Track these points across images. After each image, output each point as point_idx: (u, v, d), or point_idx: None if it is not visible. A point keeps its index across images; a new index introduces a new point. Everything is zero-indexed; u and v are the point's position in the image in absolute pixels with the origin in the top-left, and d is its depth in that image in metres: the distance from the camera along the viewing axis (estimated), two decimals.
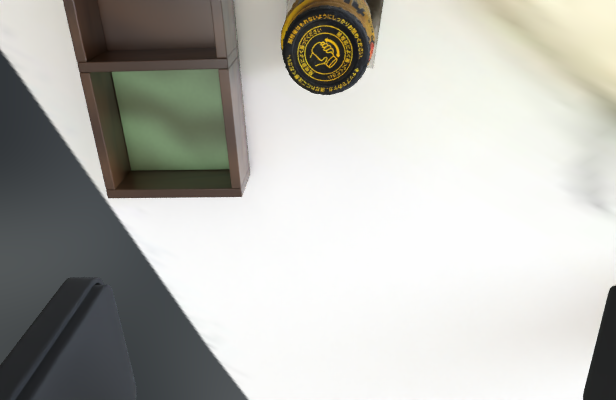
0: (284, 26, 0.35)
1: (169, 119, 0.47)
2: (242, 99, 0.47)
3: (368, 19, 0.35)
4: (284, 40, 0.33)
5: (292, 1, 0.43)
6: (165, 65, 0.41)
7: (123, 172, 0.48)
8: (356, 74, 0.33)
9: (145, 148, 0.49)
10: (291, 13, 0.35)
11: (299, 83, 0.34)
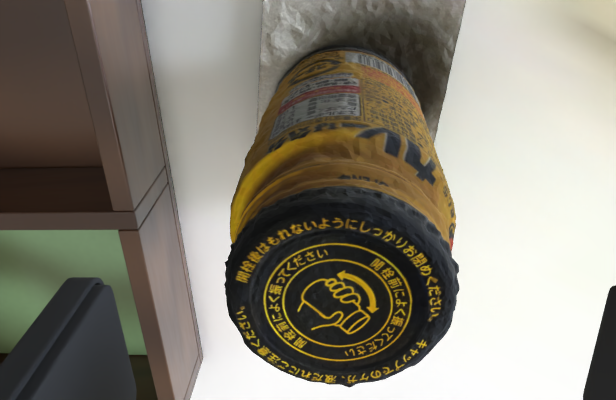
0: (236, 199, 0.14)
1: (54, 281, 0.27)
2: (182, 249, 0.26)
3: (444, 188, 0.14)
4: (227, 270, 0.12)
5: (268, 85, 0.22)
6: (12, 222, 0.21)
7: None
8: (419, 352, 0.13)
9: (19, 322, 0.28)
10: (252, 172, 0.14)
11: (270, 363, 0.13)
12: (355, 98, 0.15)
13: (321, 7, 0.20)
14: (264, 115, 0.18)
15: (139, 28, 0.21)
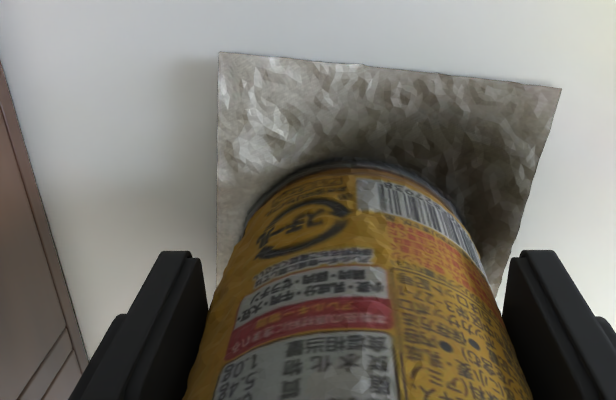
0: None
1: None
2: None
3: None
4: None
5: (232, 216, 0.14)
6: None
7: None
8: None
9: None
10: None
11: None
12: (386, 355, 0.07)
13: (314, 101, 0.12)
14: (209, 320, 0.10)
15: (3, 132, 0.13)
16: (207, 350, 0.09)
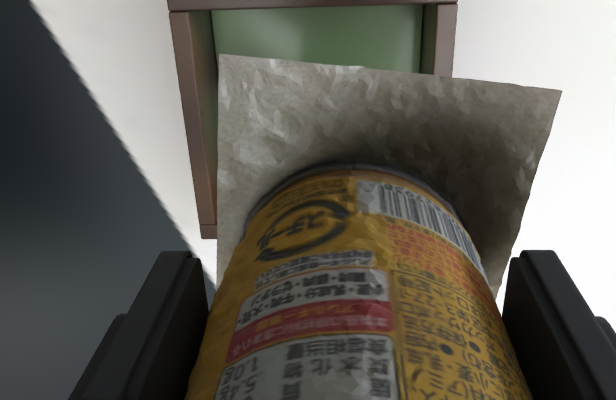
0: None
1: None
2: None
3: None
4: None
5: (232, 218, 0.14)
6: None
7: None
8: None
9: None
10: None
11: None
12: (386, 358, 0.07)
13: (315, 103, 0.12)
14: (210, 322, 0.10)
15: None
16: (208, 352, 0.09)
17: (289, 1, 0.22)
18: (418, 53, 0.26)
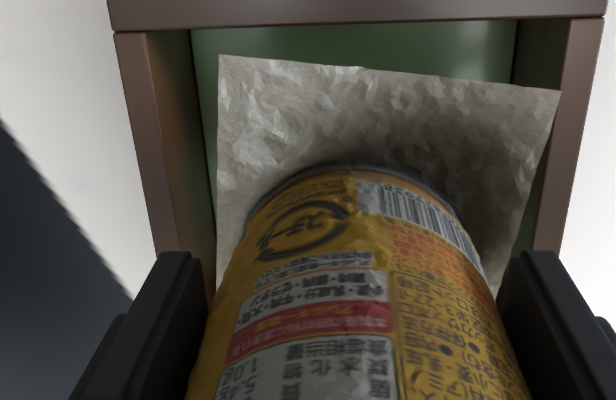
0: None
1: None
2: None
3: None
4: None
5: (232, 218, 0.14)
6: (394, 6, 0.13)
7: (211, 291, 0.19)
8: None
9: None
10: None
11: None
12: (386, 359, 0.07)
13: (314, 103, 0.12)
14: (209, 323, 0.10)
15: None
16: (207, 353, 0.09)
17: (315, 14, 0.13)
18: None
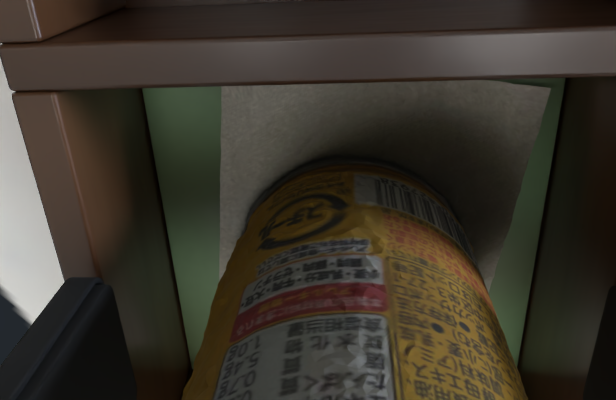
0: None
1: None
2: None
3: None
4: None
5: (235, 212, 0.14)
6: (412, 58, 0.09)
7: (174, 395, 0.15)
8: None
9: None
10: None
11: None
12: (381, 335, 0.08)
13: (314, 100, 0.13)
14: (214, 308, 0.10)
15: None
16: (212, 334, 0.09)
17: (298, 70, 0.09)
18: (549, 150, 0.13)
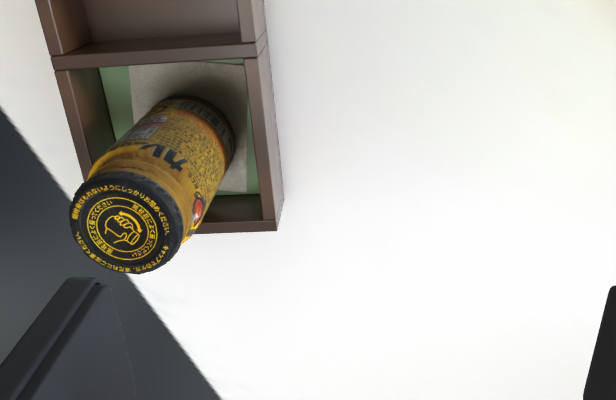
0: None
1: None
2: (273, 101, 0.35)
3: (188, 173, 0.27)
4: (69, 214, 0.25)
5: None
6: (170, 56, 0.30)
7: None
8: (166, 252, 0.26)
9: None
10: (92, 168, 0.27)
11: (98, 262, 0.26)
12: (155, 129, 0.29)
13: (163, 74, 0.34)
14: None
15: None
16: None
17: (138, 60, 0.30)
18: None
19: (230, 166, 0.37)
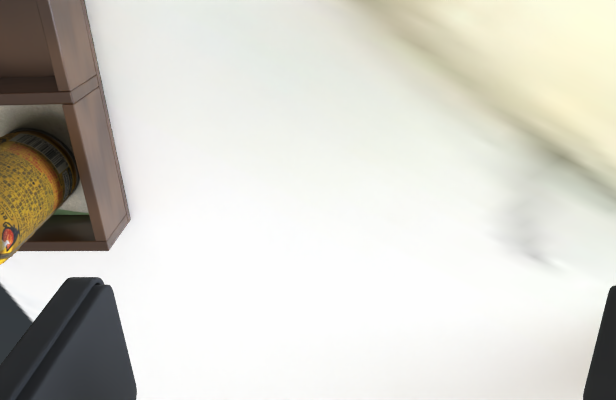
0: None
1: None
2: (111, 135, 0.40)
3: None
4: None
5: None
6: None
7: None
8: None
9: None
10: None
11: None
12: None
13: (10, 109, 0.38)
14: None
15: None
16: None
17: None
18: None
19: (77, 190, 0.41)
